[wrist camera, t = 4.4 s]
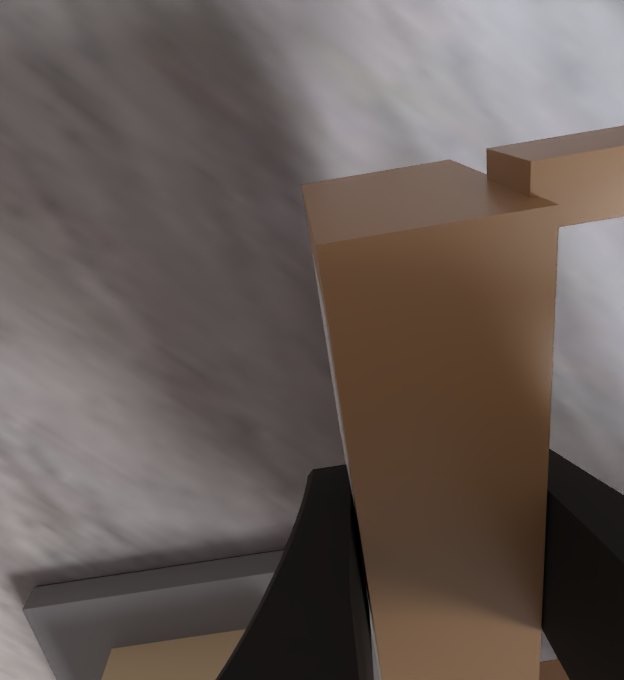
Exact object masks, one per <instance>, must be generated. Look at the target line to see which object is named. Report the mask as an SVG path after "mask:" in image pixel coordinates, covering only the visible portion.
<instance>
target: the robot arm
mask: <svg viewBox="0 0 624 680" xmlns="http://www.w3.org/2000/svg"><path fill="white" fill-rule="evenodd" d="M541 628H542V630H543V632H544V633H545V635H546V637H547V639H548V641H549V643H550V645H551V646H552V648H553V650H554V652H555V654H556V656H557V658H558V659H559V661H560V663H561V665H562V667H563V669H564V671H565V672H566V674H567V676H568V678H569V680H624V495H622V494H621V493H619V492H618V491H616V490H614V489H613V488H611V487H609V486H608V485H606V484H604V483H603V482H601V481H600V480H598V479H596V478H595V477H593V476H592V475H590V474H588V473H587V472H585V471H584V470H582V469H581V468H579V467H577V466H576V465H574V464H573V463H571V462H570V461H568V460H566V459H565V458H563V457H562V456H560V455H559V454H557V453H555V452H554V451H552V450H551V449H549V461H548V484H547V507H546V530H545V554H544V577H543V600H542V623H541ZM216 680H374V672H373V657H372V641H371V626H370V611H369V602H368V596H367V590H366V583H365V577H364V570H363V564H362V558H361V551H360V545H359V538H358V532H357V526H356V519H355V513H354V506H353V500H352V493H351V487H350V481H349V475H348V470H347V465H339V466H332V467H326V468H319V469H313V470H312V472H311V473H310V474H309V475H308V479H307V485H306V489H305V493H304V497H303V500H302V503H301V507H300V510H299V513H298V516H297V519H296V522H295V524H294V527H293V529H292V532H291V534H290V537H289V540H288V542H287V545H286V547H285V550H284V552H283V555H282V557H281V559H280V562H279V564H278V566H277V568H276V570H275V572H274V575H273V577H272V579H271V581H270V583H269V585H268V587H267V589H266V591H265V594H264V596H263V598H262V600H261V602H260V604H259V606H258V608H257V610H256V611H255V613H254V615H253V617H252V619H251V621H250V623H249V625H248V626H247V628H246V630H245V632H244V634H243V635H242V637H241V639H240V640H239V642H238V644H237V646H236V647H235V649H234V651H233V652H232V654H231V656H230V657H229V659H228V661H227V662H226V664H225V666H224V667H223V669H222V670H221V672H220V673H219V675H218V676H217V678H216Z"/></svg>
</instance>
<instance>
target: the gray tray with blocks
mask: <svg viewBox="0 0 624 680" xmlns="http://www.w3.org/2000/svg"><path fill="white" fill-rule="evenodd" d="M283 552H284V550H281V551H274V552H267V553H261V554H254V555H247V556H241V557H234V558H227V559H221V560H214V561H207V562H200V563H194V564H187V565H180V566H174V567H167V568H160V569H154V570H147V571H140V572H133V573H127V574H120V575H113V576H107V577H100V578H93V579H86V580H80V581H73V582H66V583H60V584H53V585H46V586H40V587H35V588H34V590H33V591H32V593H31V595H30V597H29V599H28V600H27V602H26V604H25V606H24V608H23V612H24V614H25V616H26V618H27V620H28V622H29V624H30V626H31V628H32V630H33V632H34V634H35V636H36V638H37V640H38V642H39V644H40V646H41V648H42V651H43V653H44V655H45V657H46V659H47V661H48V663H49V665H50V667H51V669H52V671H53V673H54V675H55V677H56V679H57V680H216V678H217V676H218V675H219V673H220V672H221V670H222V669H223V667H224V666H225V664H226V662H227V661H228V659H229V657H230V656H231V654H232V652H233V651H234V649H235V647H236V646H237V644H238V642H239V640H240V639H241V637H242V635H243V634H244V632H245V630H246V628H247V626H248V625H249V623H250V621H251V619H252V617H253V615H254V613H255V611H256V610H257V608H258V606H259V604H260V602H261V600H262V598H263V596H264V594H265V591H266V589H267V587H268V585H269V583H270V581H271V579H272V577H273V575H274V572H275V570H276V568H277V566H278V564H279V562H280V559H281V557H282V555H283ZM370 626H371V624H370ZM371 641H372V657H373V672H374V680H380V676H379V671H378V665H377V659H376V653H375V647H374V642H373V636H372V630H371Z"/></svg>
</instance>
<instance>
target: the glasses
mask: <svg viewBox="0 0 624 680" xmlns="http://www.w3.org/2000/svg"><path fill="white" fill-rule="evenodd" d="M301 187H302V193H303V199H304V206H305V212H306V218H307V225H308V231H309V238H310V244H311V250H312V257H313V263H314V269H315V276H316V282H317V288H318V295H319V301H320V307H321V314H322V320H323V327H324V333H325V339H326V346H327V352H328V358H329V365H330V371H331V377H332V384H333V390H334V396H335V403H336V409H337V416H338V422H339V428H340V435H341V441H342V447H343V454H344V460H345V465H347V470H348V475H349V481H350V487H351V493H352V500H353V506H354V513H355V519H356V526H357V532H358V538H359V545H360V551H361V558H362V564H363V570H364V577H365V583H366V590H367V596H368V602H369V611H370V624H371V630H372V636H373V642H374V647H375V653H376V659H377V665H378V671H379V676H380V680H569V678H568V676H567V674H566V672H565V671H564V669H563V667H562V665H561V663H560V661H559V659H557V660H550V661H544V662H540V646H541V623H542V600H543V577H544V554H545V530H546V507H547V484H548V461H549V437H550V414H551V391H552V368H553V345H554V321H555V298H556V275H557V252H558V229H559V227H562V226H568V225H574V224H580V223H587V222H593V221H599V220H605V219H611V218H617V217H623V216H624V126H619V127H613V128H607V129H601V130H595V131H589V132H583V133H577V134H571V135H565V136H559V137H553V138H547V139H541V140H535V141H529V142H523V143H517V144H511V145H505V146H499V147H493V148H487V175H486V174H484V173H481V172H479V171H476V170H474V169H472V168H469V167H467V166H464V165H462V164H459V163H457V162H455V161H452V160H445V161H439V162H433V163H427V164H421V165H415V166H409V167H403V168H397V169H391V170H385V171H379V172H373V173H367V174H361V175H355V176H349V177H343V178H337V179H331V180H325V181H319V182H313V183H307V184H301Z"/></svg>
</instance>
